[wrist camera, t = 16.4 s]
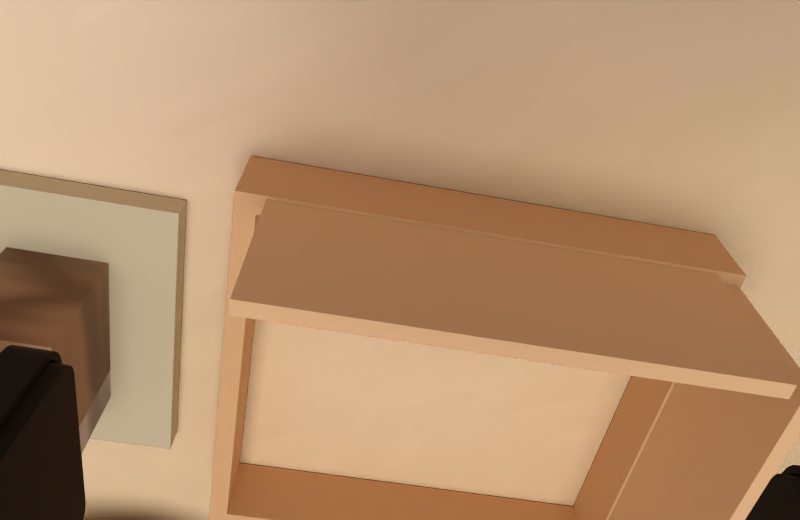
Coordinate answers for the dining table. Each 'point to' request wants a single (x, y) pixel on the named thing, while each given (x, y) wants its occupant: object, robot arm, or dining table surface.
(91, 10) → the dining table surface
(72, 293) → the walnut box
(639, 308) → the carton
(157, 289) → the board
